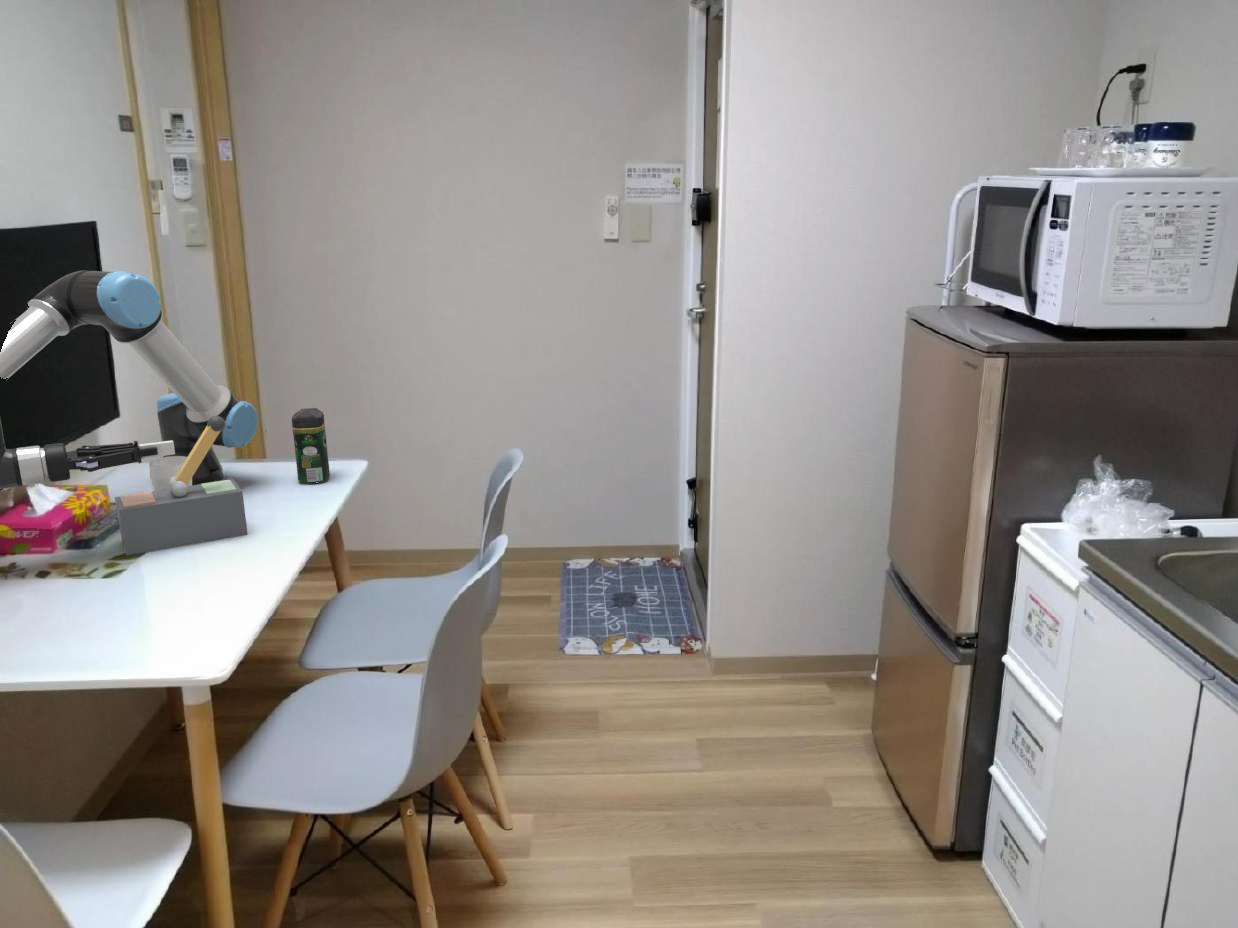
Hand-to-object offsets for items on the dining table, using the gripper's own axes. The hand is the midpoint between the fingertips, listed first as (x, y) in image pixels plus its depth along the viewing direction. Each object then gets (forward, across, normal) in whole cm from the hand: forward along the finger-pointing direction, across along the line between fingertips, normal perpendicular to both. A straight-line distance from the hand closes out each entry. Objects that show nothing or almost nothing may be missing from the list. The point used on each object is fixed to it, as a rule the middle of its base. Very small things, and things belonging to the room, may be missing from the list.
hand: (173, 447), depth 201 cm
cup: (+1, -22, -21) cm, 30 cm away
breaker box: (0, -1, -21) cm, 21 cm away
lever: (-1, -1, -10) cm, 10 cm away
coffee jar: (+35, -28, -21) cm, 50 cm away
